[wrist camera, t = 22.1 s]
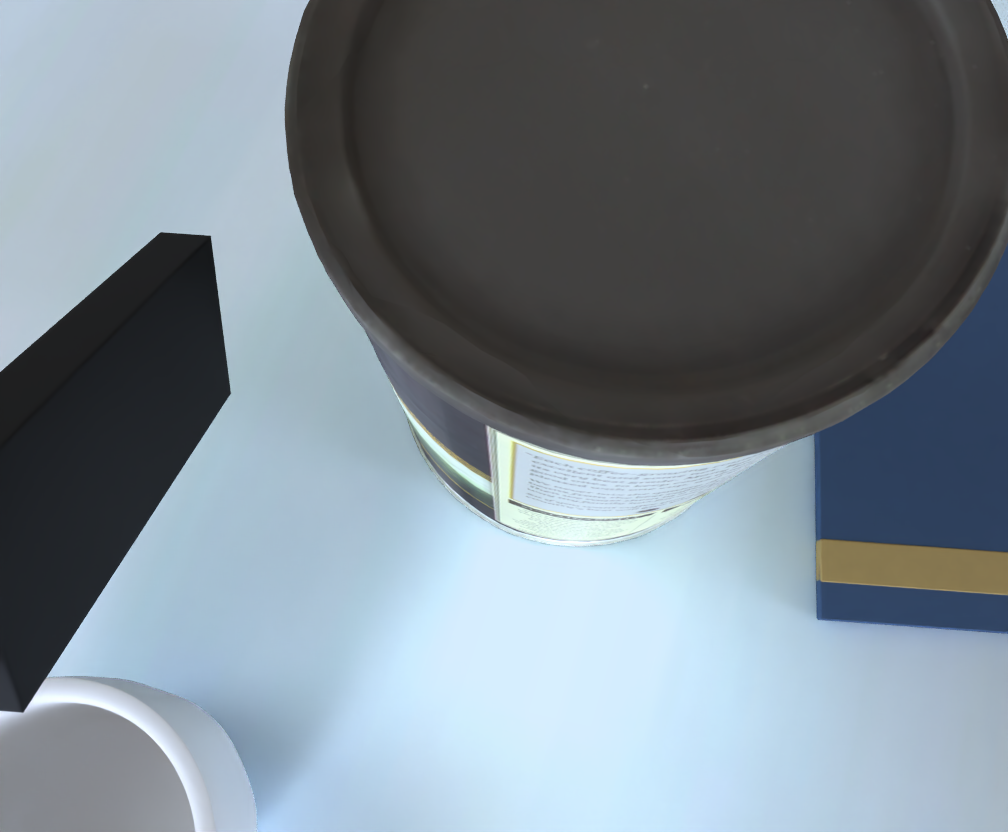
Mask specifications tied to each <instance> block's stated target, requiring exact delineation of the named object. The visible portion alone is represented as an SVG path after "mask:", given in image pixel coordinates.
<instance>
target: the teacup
mask: <svg viewBox="0 0 1008 832" xmlns="http://www.w3.org/2000/svg"><path fill="white" fill-rule="evenodd" d="M0 832H257V813H256V805H255V799H254V795H253V791H252V787H251V784H250V781H249V778H248V776H247V773H246V770H245V768H244V766H243V763H242V761H241V759H240V757H239V755H238V752H237V750H236V748H235V746H234V745H233V743H232V741H231V740H230V738H229V736H228V735H227V733H226V732H225V731H224V729H223V728H222V727H221V726H220V725H219V724H218V722H217V721H216V720H215V719H214V718H213V717H211V716H210V715H209V714H208V713H207V712H206V711H205V710H203V709H202V708H201V707H199V706H198V705H196V704H195V703H193V702H191V701H189V700H187V699H185V698H182V697H179V696H176V695H173V694H170V693H167V692H164V691H161V690H158V689H155V688H152V687H150V686H147V685H143V684H140V683H137V682H133V681H129V680H123V679H117V678H105V677H88V676H69V677H49V678H46V679H45V680H44V682H43V683H42V685H41V686H40V688H39V689H38V691H37V692H36V694H35V695H34V697H33V699H32V700H31V702H30V703H29V705H28V706H27V708H26V709H25V711H24V712H23V713H19V712H7V711H0Z"/></svg>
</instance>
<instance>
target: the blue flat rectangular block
mask: <svg viewBox="0 0 1008 832" xmlns="http://www.w3.org/2000/svg"><path fill="white" fill-rule="evenodd" d="M815 502H816V594H817V619H818V620H830V621H844V622H857V623H871V624H884V625H898V626H911V627H925V628H938V629H952V630H965V631H979V632H992V633H1006V634H1008V244H1007V246H1006V248H1005V251H1004V253H1003V255H1002V257H1001V260H1000V262H999V264H998V266H997V269H996V271H995V272H994V274H993V276H992V278H991V280H990V282H989V284H988V286H987V287H986V289H985V290H984V292H983V293H982V295H981V297H980V299H979V300H978V302H977V304H976V305H975V307H974V309H973V310H972V312H971V313H970V314H969V316H968V317H967V318H966V320H965V321H964V322H963V323H962V325H961V326H960V327H959V328H958V329H957V331H956V332H955V333H954V334H953V335H952V337H951V338H950V339H949V340H948V341H947V342H946V343H945V344H944V346H943V347H942V348H941V349H940V350H939V351H938V352H937V353H936V355H935V356H934V357H933V358H932V359H931V360H930V361H928V362H927V363H926V364H925V365H924V366H923V367H921V368H920V369H919V370H918V371H917V372H916V373H914V374H913V375H912V376H911V377H910V378H909V379H907V380H906V381H905V382H904V383H902V384H901V385H900V386H898V387H897V388H896V389H894V390H893V391H892V392H890V393H889V394H887V395H886V396H884V397H882V398H881V399H879V400H877V401H876V402H874V403H872V404H871V405H869V406H867V407H865V408H864V409H862V410H860V411H859V412H857V413H855V414H854V415H852V416H850V417H849V418H847V419H845V420H844V421H842V422H839V423H837V424H835V425H833V426H831V427H828V428H826V429H824V430H822V431H820V432H817V433H815Z"/></svg>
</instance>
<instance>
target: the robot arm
mask: <svg viewBox="0 0 1008 832" xmlns="http://www.w3.org/2000/svg"><path fill="white" fill-rule="evenodd" d="M230 394H231V391H230V383H229V375H228V368H227V360H226V352H225V344H224V336H223V329H222V321H221V313H220V305H219V297H218V289H217V282H216V274H215V266H214V258H213V250H212V243H211V236H205V235H191V234H177V233H163V232H161V233H159V234H158V235H157V236H156V237H155V238H154V239H152V240H151V241H150V242H149V243H148V244H147V245H146V246H144V247H143V248H142V249H141V250H140V251H139V252H138V253H136V254H135V255H134V256H133V257H132V258H131V259H130V260H128V261H127V262H126V263H125V264H124V265H123V266H121V267H120V268H119V269H118V270H117V271H116V272H115V273H113V274H112V275H111V276H110V277H109V278H108V279H107V280H105V281H104V282H103V283H102V284H101V285H100V286H99V287H97V288H96V289H95V290H94V291H93V292H92V293H90V294H89V295H88V296H87V297H86V298H85V299H84V300H82V301H81V302H80V303H79V304H78V305H77V306H76V307H74V308H73V309H72V310H71V311H70V312H69V313H68V314H66V315H65V316H64V317H63V318H62V319H61V320H59V321H58V322H57V323H56V324H55V325H54V326H53V327H51V328H50V329H49V330H48V331H47V332H46V333H45V334H43V335H42V336H41V337H40V338H39V339H38V340H37V341H35V342H34V343H33V344H32V345H31V346H30V347H28V348H27V349H26V350H25V351H24V352H23V353H22V354H20V355H19V356H18V357H17V358H16V359H15V360H14V361H12V362H11V363H10V364H9V365H8V366H7V367H6V368H4V369H3V370H2V371H1V372H0V711H7V712H19V713H23V712H24V711H25V709H26V708H27V706H28V705H29V703H30V702H31V700H32V699H33V697H34V695H35V694H36V692H37V691H38V689H39V688H40V686H41V685H42V683H43V682H44V680H45V679H46V677H47V675H48V674H49V672H50V671H51V669H52V668H53V666H54V665H55V663H56V662H57V660H58V659H59V657H60V655H61V654H62V652H63V651H64V649H65V648H66V646H67V645H68V643H69V642H70V640H71V638H72V637H73V635H74V634H75V632H76V631H77V629H78V628H79V626H80V625H81V623H82V622H83V620H84V618H85V617H86V615H87V614H88V612H89V611H90V609H91V608H92V606H93V605H94V603H95V602H96V600H97V598H98V597H99V595H100V594H101V592H102V591H103V589H104V588H105V586H106V585H107V583H108V582H109V580H110V578H111V577H112V575H113V574H114V572H115V571H116V569H117V568H118V566H119V565H120V563H121V562H122V560H123V558H124V557H125V555H126V554H127V552H128V551H129V549H130V548H131V546H132V545H133V543H134V541H135V540H136V538H137V537H138V535H139V534H140V532H141V531H142V529H143V528H144V526H145V525H146V523H147V521H148V520H149V518H150V517H151V515H152V514H153V512H154V511H155V509H156V508H157V506H158V505H159V503H160V501H161V500H162V498H163V497H164V495H165V494H166V492H167V491H168V489H169V488H170V486H171V485H172V483H173V481H174V480H175V478H176V477H177V475H178V474H179V472H180V471H181V469H182V468H183V466H184V465H185V463H186V461H187V460H188V458H189V457H190V455H191V454H192V452H193V451H194V449H195V448H196V446H197V445H198V443H199V441H200V440H201V438H202V437H203V435H204V434H205V432H206V431H207V429H208V428H209V426H210V424H211V423H212V421H213V420H214V418H215V417H216V415H217V414H218V412H219V411H220V409H221V408H222V406H223V404H224V403H225V401H226V400H227V398H228V397H229V395H230Z"/></svg>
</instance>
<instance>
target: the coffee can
mask: <svg viewBox="0 0 1008 832" xmlns="http://www.w3.org/2000/svg"><path fill="white" fill-rule="evenodd" d="M285 130H286V142H287V153H288V162H289V169H290V173H291V178H292V184H293V190H294V195H295V198H296V201H297V204H298V207H299V209H300V212H301V215H302V218H303V220H304V223H305V226H306V228H307V231H308V233H309V236H310V238H311V240H312V243H313V245H314V247H315V250H316V252H317V255H318V257H319V259H320V260H321V262H322V264H323V266H324V268H325V270H326V272H327V274H328V276H329V277H330V279H331V281H332V282H333V284H334V285H335V287H336V289H337V290H338V292H339V293H340V295H341V297H342V298H343V300H344V302H345V303H346V305H347V306H348V308H349V309H350V311H351V312H352V314H353V315H354V316H355V318H356V319H357V321H358V322H359V323H360V325H361V326H362V327H363V328H364V330H365V332H366V334H367V335H368V337H369V339H370V342H371V344H372V346H373V348H374V350H375V352H376V354H377V357H378V359H379V361H380V363H381V365H382V367H383V369H384V370H385V372H386V374H387V377H388V379H389V381H390V383H391V385H392V387H393V389H394V392H395V394H396V396H397V398H398V400H399V402H400V404H401V406H402V408H403V410H404V412H405V414H406V416H407V419H408V423H409V426H410V428H411V431H412V434H413V437H414V439H415V441H416V444H417V446H418V448H419V450H420V452H421V454H422V456H423V457H424V459H425V461H426V463H427V464H428V466H429V468H430V469H431V470H432V472H433V473H434V474H435V476H436V477H437V478H438V479H439V481H440V482H441V483H442V484H443V485H444V486H445V487H446V489H447V490H448V491H449V492H450V493H451V494H452V495H453V496H454V497H455V498H456V499H457V500H458V501H459V502H461V503H462V504H463V505H464V506H466V507H467V508H468V509H469V510H471V511H472V512H473V513H475V514H476V515H478V516H479V517H481V518H482V519H484V520H486V521H487V522H489V523H491V524H492V525H494V526H495V527H497V528H499V529H501V530H504V531H506V532H508V533H511V534H513V535H516V536H519V537H522V538H525V539H529V540H533V541H537V542H541V543H546V544H552V545H562V546H595V545H604V544H612V543H616V542H620V541H624V540H629V539H633V538H637V537H639V536H642V535H644V534H647V533H649V532H651V531H653V530H655V529H657V528H659V527H661V526H663V525H664V524H666V523H668V522H670V521H671V520H673V519H675V518H676V517H678V516H679V515H681V514H682V513H683V512H685V511H686V510H687V509H688V508H690V507H691V506H692V505H693V504H694V503H695V502H696V501H698V500H699V499H701V498H702V497H704V496H706V495H707V494H709V493H710V492H712V491H713V490H715V489H717V488H718V487H720V486H722V485H723V484H725V483H726V482H728V481H730V480H731V479H733V478H734V477H736V476H737V475H739V474H740V473H742V472H744V471H745V470H747V469H748V468H750V467H752V466H753V465H755V464H756V463H758V462H760V461H761V460H763V459H764V458H766V457H768V456H769V455H771V454H773V453H774V452H776V451H778V450H779V449H781V448H782V447H784V446H786V445H787V444H789V443H791V442H794V441H796V440H799V439H802V438H805V437H807V436H810V435H813V434H815V433H817V432H820V431H822V430H824V429H826V428H828V427H831V426H833V425H835V424H837V423H839V422H842V421H844V420H845V419H847V418H849V417H850V416H852V415H854V414H855V413H857V412H859V411H860V410H862V409H864V408H865V407H867V406H869V405H871V404H872V403H874V402H876V401H877V400H879V399H881V398H882V397H884V396H886V395H887V394H889V393H890V392H892V391H893V390H894V389H896V388H897V387H898V386H900V385H901V384H902V383H904V382H905V381H906V380H907V379H909V378H910V377H911V376H912V375H913V374H914V373H916V372H917V371H918V370H919V369H920V368H921V367H923V366H924V365H925V364H926V363H927V362H928V361H930V360H931V359H932V358H933V357H934V356H935V355H936V353H937V352H938V351H939V350H940V349H941V348H942V347H943V346H944V344H945V343H946V342H947V341H948V340H949V339H950V338H951V337H952V335H953V334H954V333H955V332H956V331H957V329H958V328H959V327H960V326H961V325H962V323H963V322H964V321H965V320H966V318H967V317H968V316H969V314H970V313H971V312H972V310H973V309H974V307H975V305H976V304H977V302H978V300H979V299H980V297H981V295H982V293H983V292H984V290H985V289H986V287H987V286H988V284H989V282H990V280H991V278H992V276H993V274H994V272H995V271H996V269H997V266H998V264H999V262H1000V260H1001V257H1002V255H1003V253H1004V251H1005V248H1006V246H1007V244H1008V39H1007V36H1006V33H1005V31H1004V28H1003V26H1002V23H1001V21H1000V19H999V16H998V14H997V12H996V10H995V8H994V6H993V4H992V2H991V0H310V1H309V2H308V4H307V6H306V8H305V10H304V13H303V16H302V19H301V23H300V26H299V29H298V32H297V35H296V39H295V43H294V47H293V52H292V57H291V61H290V66H289V72H288V79H287V87H286V100H285Z"/></svg>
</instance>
